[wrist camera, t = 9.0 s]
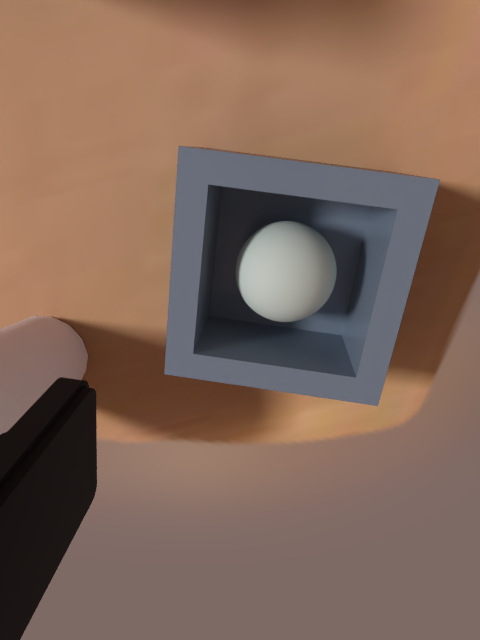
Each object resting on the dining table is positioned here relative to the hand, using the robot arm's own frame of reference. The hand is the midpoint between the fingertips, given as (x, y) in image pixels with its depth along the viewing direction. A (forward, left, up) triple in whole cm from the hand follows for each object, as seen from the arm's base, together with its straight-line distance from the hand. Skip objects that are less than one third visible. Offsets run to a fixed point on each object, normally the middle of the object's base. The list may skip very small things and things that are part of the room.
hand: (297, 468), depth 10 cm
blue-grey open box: (0, 0, -22) cm, 22 cm away
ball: (0, 0, -18) cm, 18 cm away
